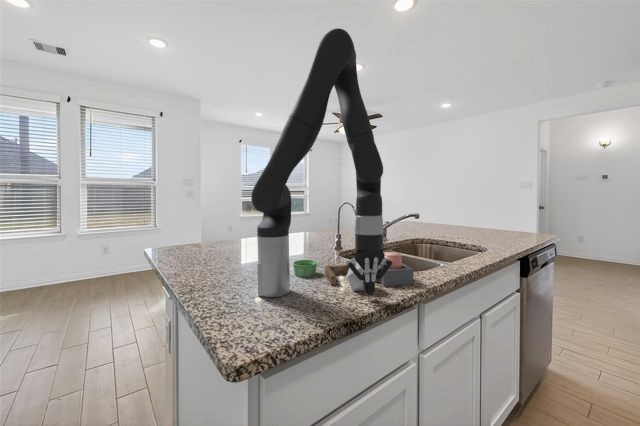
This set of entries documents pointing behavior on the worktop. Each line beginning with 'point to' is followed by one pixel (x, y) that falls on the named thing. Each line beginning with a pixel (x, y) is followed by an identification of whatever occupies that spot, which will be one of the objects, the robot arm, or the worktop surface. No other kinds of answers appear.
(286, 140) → the robot arm
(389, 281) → the box
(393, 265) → the popper button
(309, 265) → the ramekin
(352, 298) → the worktop surface
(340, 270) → the walnut bay
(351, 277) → the die
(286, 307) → the worktop surface
